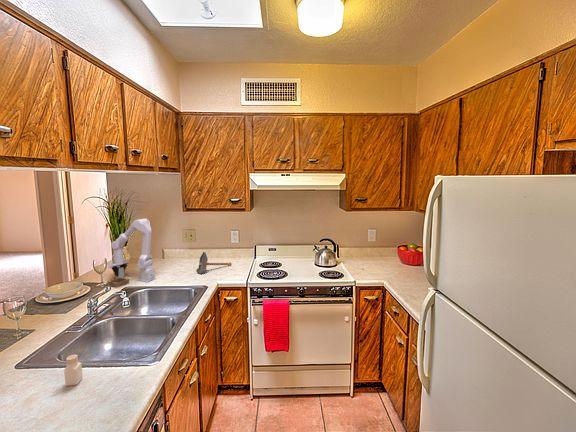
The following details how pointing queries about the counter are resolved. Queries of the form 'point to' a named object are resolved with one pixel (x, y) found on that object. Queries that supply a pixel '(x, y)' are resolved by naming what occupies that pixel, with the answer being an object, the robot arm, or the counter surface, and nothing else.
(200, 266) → the hammer
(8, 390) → the counter surface
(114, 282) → the frame
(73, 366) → the salt shaker
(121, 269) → the slate peg
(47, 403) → the counter surface
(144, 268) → the robot arm
